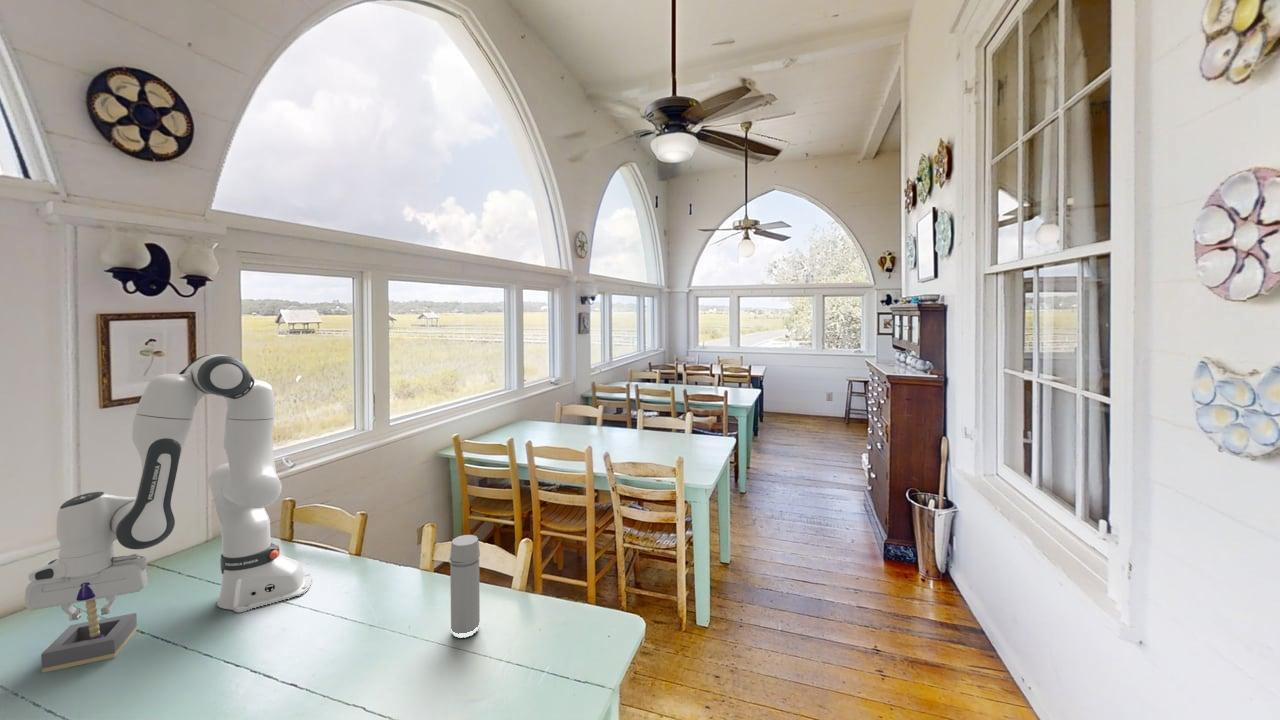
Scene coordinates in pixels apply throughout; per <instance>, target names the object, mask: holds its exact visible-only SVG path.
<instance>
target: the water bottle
mask: <svg viewBox="0 0 1280 720" xmlns="http://www.w3.org/2000/svg"><path fill="white" fill-rule="evenodd" d="M450 548H451V549H450V554H449V555H450V556H449V558H448V559H447V562H448V564H450V566H449V567H450V630H451V629H452V631H453V632H455V633H458V634H459V633H467V632H470V631H473V630H474V629H475V628H476V627H478V625H479V622H480V620H481V619H480V611H481V610H480V607H481V606H480V601H481V600H480V556H481V552H480V551H481V550H480V543H479V538H478V537H477V535H474V534H463V535H458V536H457V537H455V538H453V539H452V540H451V546H450Z"/></svg>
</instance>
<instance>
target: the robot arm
mask: <svg viewBox="0 0 1280 720" xmlns="http://www.w3.org/2000/svg"><path fill="white" fill-rule="evenodd" d="M274 394H275V393H274V389H273V387H272V385H271V384H269V383H268V382H266V381H264V380H260V379H254V378H253V376H252V375H251V373H250V372H249V369H248V368H247V366H246V365H245V364H244V363H243V361H241V360H240V359H238V358H236V357H233V356H230V355H227V354H223V353H222V354H219V353H217V354H215V353H214V354H207V355H203V356H199V357H198V358H195V359H194V360H193V361H192V362H190V363H189V364H188V365H187V366H186V367H185V368H183V370H181V371H180V372H179V373H163V374H159V375H156V376H155V377H153V378H152V379H150V380H149V382H148V384H147V385H146V388H145V389H144V392H143V393H142V395H141V398H140V400H139V403H138V404H137V408H136V411H135V414H134V418H133V421H132V422H133V423H132V429H131V430H132V432H131V433H132V434H131V436H132V437H131V439H132V443H133V444H134V446H135V448H136V450H137V452H138V455H139V458H140V460H141V474H140V479H139V483H138V486H137V492H136V496H124V495H123V496H121V495H115V494H110V493H107V492H104V491H94V492H93V491H92V492H87V493H83V494H80V495H77V496H74V497H72V498H70V499H69V500H66V501H65V502H64V503H62V504H61V505H60V507H59V508H58V510H57V516H56V537H57V538H56V539H57V541H58V542H59V545H60V546H59V547H60V548H59V551H58V557H56V558H53V559H50V560H47V561H45V562H43V563H42V564H39V566H38V567H36V568H34V569H33V570H32V571H30V573H29V574H28V576H27V578H28V581H30V582H29V583H28V584H27V586H26V587H25V593H24V605H25V608H26V609H27V610H29V611H36V610H42V609H47V608H53V607H59V606H61V610H62V611H63V612H64V613H65V614H67V615H68V618H69V619H68V620H69V621H70V622H71V621H77V620H79V619H81V618H82V615H83V614H82V611H83V610H82V609H77V608H76V607H75V606H74V604H76V603H83V602H85V601H88V600H94V599H95V600H99V599H104V598H106V602H108V603H107V604H104V605H103V606H102V607H100V612H101V613H100V614H101V616H104V615H110V614H111V613H112V612H113V608H114V607H113V604H114V603H115V601H116V600H117V598H118V596H122V595H128V594H133V593H134V594H135V593H137V592H138V593H139V592H141V591H142V590H143V589H144V588H145V587H146V586H147V585H148V582H149V577H148V573H147V569H146V568H147V558H146V557H145V556H143V555H141V554H140V555H139V554H137V553H134V554H130V555H121V556H115V548H114V545H115V544H114V542H115V541H116V540H117V541H118V543H119V544H120V545H121V546H123V547H124V548H127V549H129V550H145V549H149V548H151V547H155V546H157V545H159V544H161V543H163V542H164V541H165V540H166V539H168V537H169V536H170V535H172V532H173V530H174V527H175V524H176V523H175V522H176V520H175V516H174V514H173V509H172V506H171V505H172V496H173V492H174V489H175V487H174V486H175V483H176V482H175V481H176V478H177V473H178V467H179V463H180V459H181V456H182V454H183V453H182V452H183V450H184V446H185V444H186V441H187V438H188V436H189V432H190V429H191V426H192V423H193V419H194V415H195V412H196V407H197V405H198V403H199V402H200V401H201V400H202V398H205V396H207V395H215V396H219V397H223V398H224V399H225V402H226V407H227V408H226V413H225V414H226V415H225V424H224V436H223V448H224V450H225V453H226V458H227V461H228V462H227V463H222V464H220V465H218V466H216V467H215V468H214V469H213V470H212V471H211V472H210V474H209V476H208V478H207V484H208V487H209V490H210V492H211V494H212V497H213V502H214V506H215V510H216V514H217V518H218V521H219V524H220V529H221V530H220V532H221V545H222V546H221V547H222V549H221V550H222V553H221V554H220V558H219V563H220V565H219V567H220V571H221V572H220V573H221V575H222V577H221V587H220V592H219V597H218V599H217V602H216V605H217V607H219V609H220V608H221V609H225V610H231V611H233V612H235V613H243V612H247V610H248V611H251V610H253V609H252V608H255V609H257V608H256V607H259V606H262V607H264V606H263V605H266V604H270V605H272V604H271V603H273V604H275V603H274V602H277V603H279V602H278V601H281V600H284V601H286V600H285V599H288V598H292V597H295V596H299V595H301V594H303V593H304V592H305V591H306V590H307V589H308V588H309V587H310V588H311V586H312V584H311V581H312V582H313V577H312V575H311V573H310V572H307V571H306V572H304V571H303V567H302V565H301V563H300V562H299V561H298V560H296V559H294V558H290V557H287V556H285V555H283V554H280V551H281V549H280V543H279V542H277V544H275V543H272V542H271V541H272V540H271V520H270V517H269V514H268V513H267V510H266V508H265V507H269V506H270V505H272V504H273V503H275V502H276V501H277V499H278V498H279V497H280V495H281V492H282V489H283V486H282V481H281V480H280V478H279V476H278V473H277V468H276V467H277V466H276V461H275V457H274V456H275V455H274V449H273V436H274V426H275V424H274V423H275V413H276V412H275V409H276V408H275V395H274ZM306 576H308V577H306ZM87 582H88V583H90V585H88V586H89V587H90V588H91V589H92V591H93V592H94V594H95V597H94V598H91V599H88V600H83V601H77V600H76V598H77V595H78V593H79V590H80V589H81V587H82V586H80V585H81V584H82V583H87ZM310 585H311V586H310ZM310 588H309V589H310ZM304 594H305V593H304ZM304 594H303V595H304ZM301 596H302V595H301ZM299 597H300V596H299ZM295 598H296V597H295ZM292 599H293V598H292ZM288 600H289V599H288ZM281 602H282V601H281ZM266 606H267V605H266ZM259 608H260V607H259ZM250 609H251V610H250Z"/></svg>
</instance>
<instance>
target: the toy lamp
mask: <svg viewBox="0 0 1280 720" xmlns="http://www.w3.org/2000/svg"><path fill="white" fill-rule="evenodd" d="M88 585H90V583H88V582H87V583H82V584H81V585H80V586H82V587H81V589H80V590H79V593H78V595H77V598H76V600H77V601H83V600H88V599H91V598H94V597H95V594H94V592H93V591H92V589H91V588H90V587H89V586H88ZM83 602H85V608H86V610H85V611H86V612H85V613H86V614H87V617H86V619H87V622H88V626H89V632H90V638H89V639H88V640H92V639H97V638H102V637H106V635H102V634H100V630H99V628H100V627H99V624H98V623H99V620H100V619H99V614H98V607H97V601H96V599H94V600H88V601H83ZM86 641H87V640H86Z"/></svg>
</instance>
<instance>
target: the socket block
mask: <svg viewBox="0 0 1280 720" xmlns="http://www.w3.org/2000/svg"><path fill="white" fill-rule="evenodd" d="M98 620H99V623H98V624H99V627H100V628H99V630H100V634H102V635H106V637H102V638H97V639H92V640H88V639H89V638H90V632H89V626H88V621H86V622H79V623H74V624H70V625H69V626H68V627H67V628H65V630H64V631H63V632H62V633H60V635H59V636H58V637H57V638H56V639H55V640H54V641H53V642H52V643H51V644H50V645H49V646H48V647H46V649H45V650H44V651H43V652H42V653H41V654H40V655H41V657H40V659H41V671H42V672H41V673H48V672H53V671H54V672H55V671H58V670H63V669H67V668H71V667H77V666H81V665H85V664H90V663H95V662H99V661H106V660H109V659H113V658H115V657H117V656H118V654H119V653H120V651H121V650H122V649H123V648H124V647H125V645H126V644H127V643H128V641H130V640H131V638H132V637H133V635H134V633H136V631H137V630H138V625H137V624H138V623H137V622H138V621H137V612H133V613H128V614H122V615H118V616H117V615H116V616H112V617H108V618H107V617H106V618H101V619H98ZM86 640H87V641H86Z"/></svg>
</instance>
